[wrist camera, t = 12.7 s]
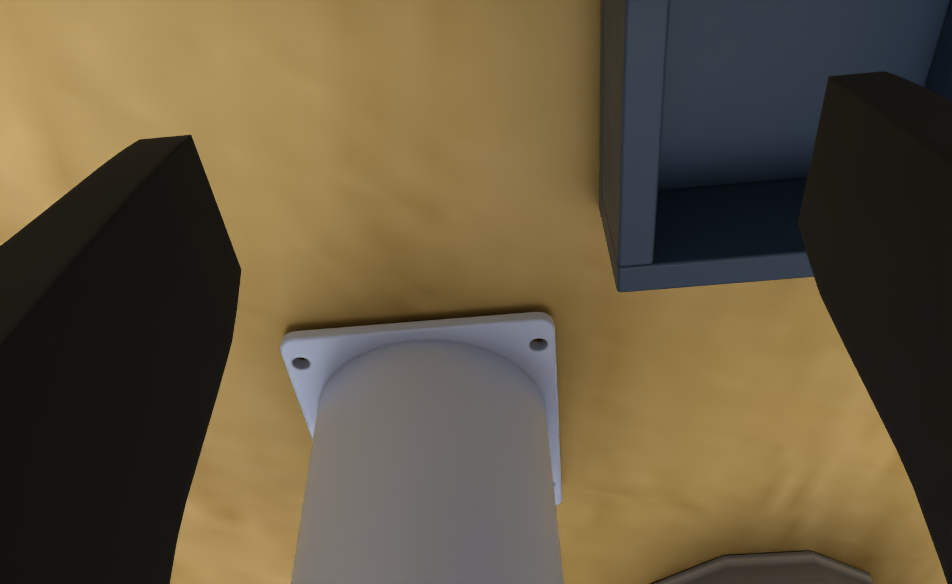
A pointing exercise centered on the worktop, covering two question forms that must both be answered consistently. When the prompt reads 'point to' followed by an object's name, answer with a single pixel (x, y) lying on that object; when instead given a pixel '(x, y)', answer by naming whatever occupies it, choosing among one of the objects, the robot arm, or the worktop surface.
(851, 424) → the worktop surface
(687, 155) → the divided tray
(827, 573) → the can
